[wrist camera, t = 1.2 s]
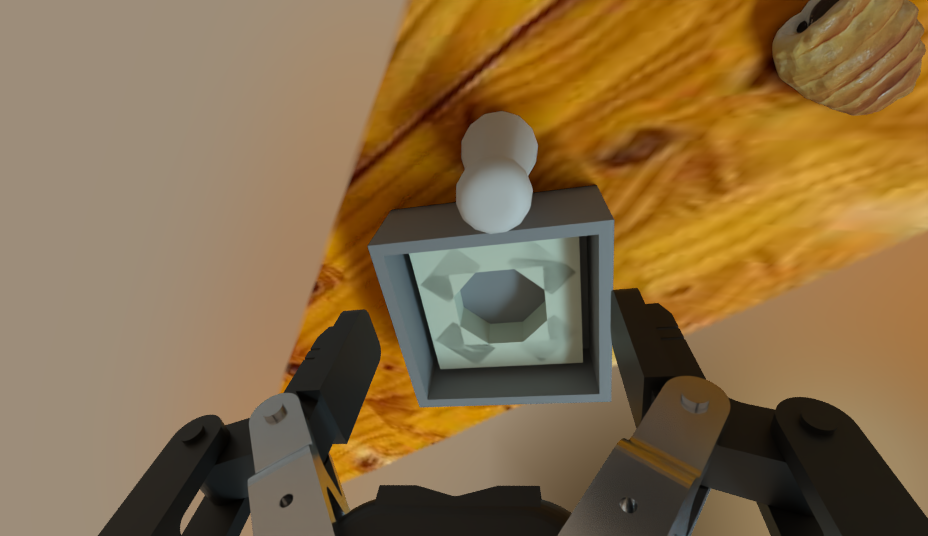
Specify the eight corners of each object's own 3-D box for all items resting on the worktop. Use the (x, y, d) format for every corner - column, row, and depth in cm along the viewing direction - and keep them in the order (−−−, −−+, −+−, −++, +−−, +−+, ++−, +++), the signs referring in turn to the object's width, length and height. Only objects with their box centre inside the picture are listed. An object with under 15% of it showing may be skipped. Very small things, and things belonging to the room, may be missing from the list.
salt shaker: (511, 190, 35) (510, 268, 24) (452, 157, 34) (422, 222, 23) (550, 128, 32) (569, 184, 21) (486, 91, 31) (470, 128, 20)
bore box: (391, 210, 37) (367, 245, 31) (596, 185, 34) (614, 219, 28) (432, 357, 46) (419, 407, 40) (597, 348, 42) (611, 401, 37)
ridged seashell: (932, 53, 27) (989, 58, 24) (830, 136, 30) (867, 150, 27) (849, -48, 25) (899, -59, 22) (748, 53, 28) (778, 57, 25)
